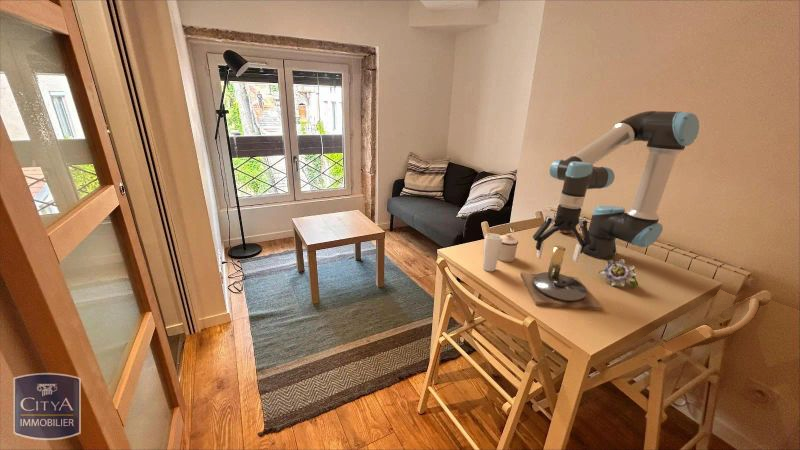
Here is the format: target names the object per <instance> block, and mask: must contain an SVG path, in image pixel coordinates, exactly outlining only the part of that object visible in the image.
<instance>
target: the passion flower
mask: <svg viewBox="0 0 800 450" xmlns="http://www.w3.org/2000/svg"><path fill="white" fill-rule="evenodd" d="M606 262H607V263H606V264H604V266H605V268H604V269H603V270H600V271H598V274H600V275H605V276H606V278H605V282H607V283H608V282H609V283H610V286H611V287H614V286H616V285H617V283H618V284H619V285H620V287H625V285H626V283H627V282H628V281H629V282H630V284H631V287H632V289H635V288H636V287H637V286H638V285H639V283H638V280H637V278H636V277H635V276H637V274H636V271H635V265H626V264H625V263H626V262H625V259H624V258H621V259H619V260H616V261H613V260H612V259H610V260H609V259H606Z"/></svg>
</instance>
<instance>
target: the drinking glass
mask: <svg viewBox="0 0 800 450" xmlns="http://www.w3.org/2000/svg"><path fill="white" fill-rule="evenodd" d="M502 236H503V235H500V234H498V233H493V232H492V233H490V232H489V233H486V234H485V237H484V241H483V242H484V245H483V260H482V261H483V262H482V268H483V270H484V271H486V272H495V270H496V268H497V263H498V261H499V260H498V257H499V253H500V249H501V245H502Z"/></svg>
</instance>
